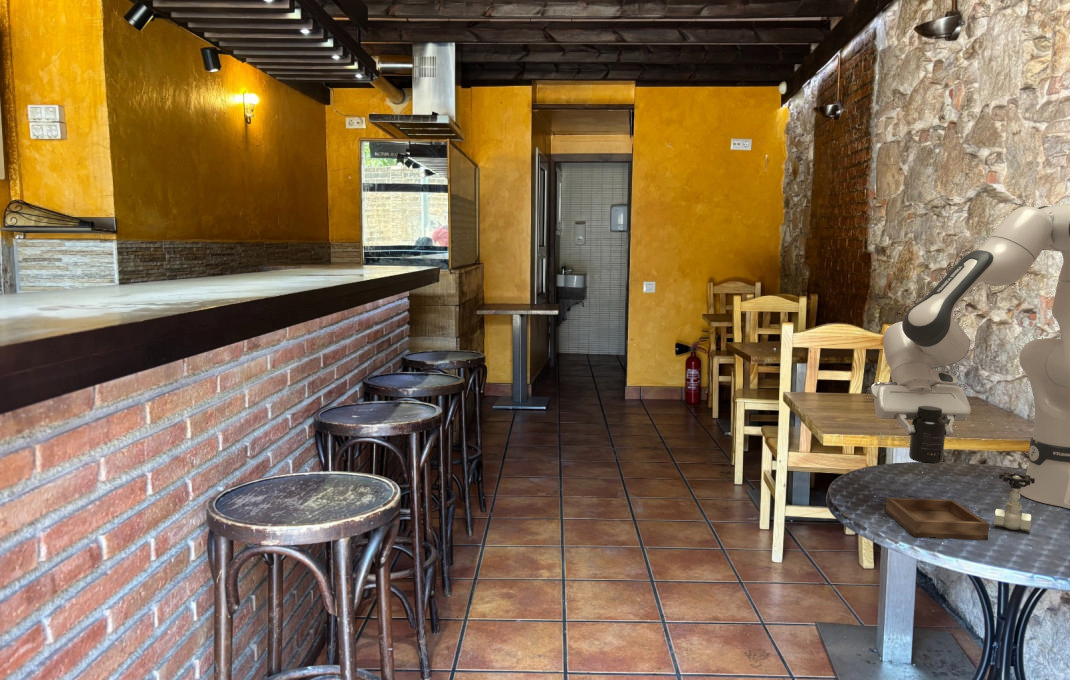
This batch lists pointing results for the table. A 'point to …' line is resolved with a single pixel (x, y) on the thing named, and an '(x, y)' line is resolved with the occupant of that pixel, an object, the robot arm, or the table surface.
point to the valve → (1014, 504)
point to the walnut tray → (937, 518)
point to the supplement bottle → (928, 436)
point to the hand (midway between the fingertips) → (929, 434)
